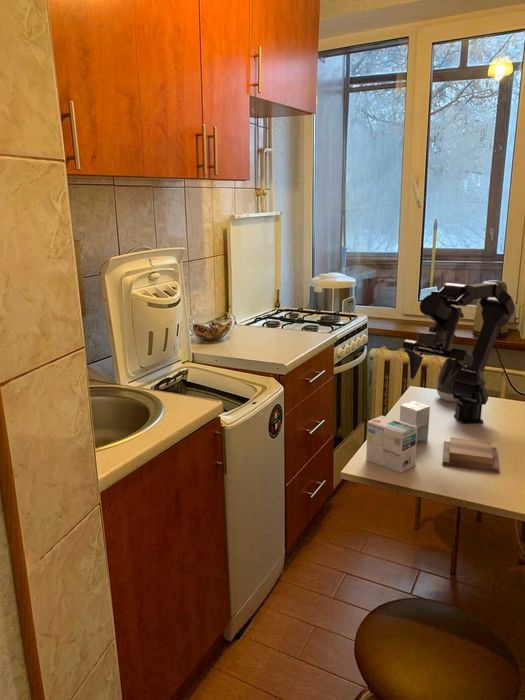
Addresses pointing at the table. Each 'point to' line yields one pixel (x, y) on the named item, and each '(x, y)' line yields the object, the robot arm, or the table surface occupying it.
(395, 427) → the light bulb box
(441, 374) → the pump dispenser
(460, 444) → the walnut stand
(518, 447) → the table surface
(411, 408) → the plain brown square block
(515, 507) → the table surface
